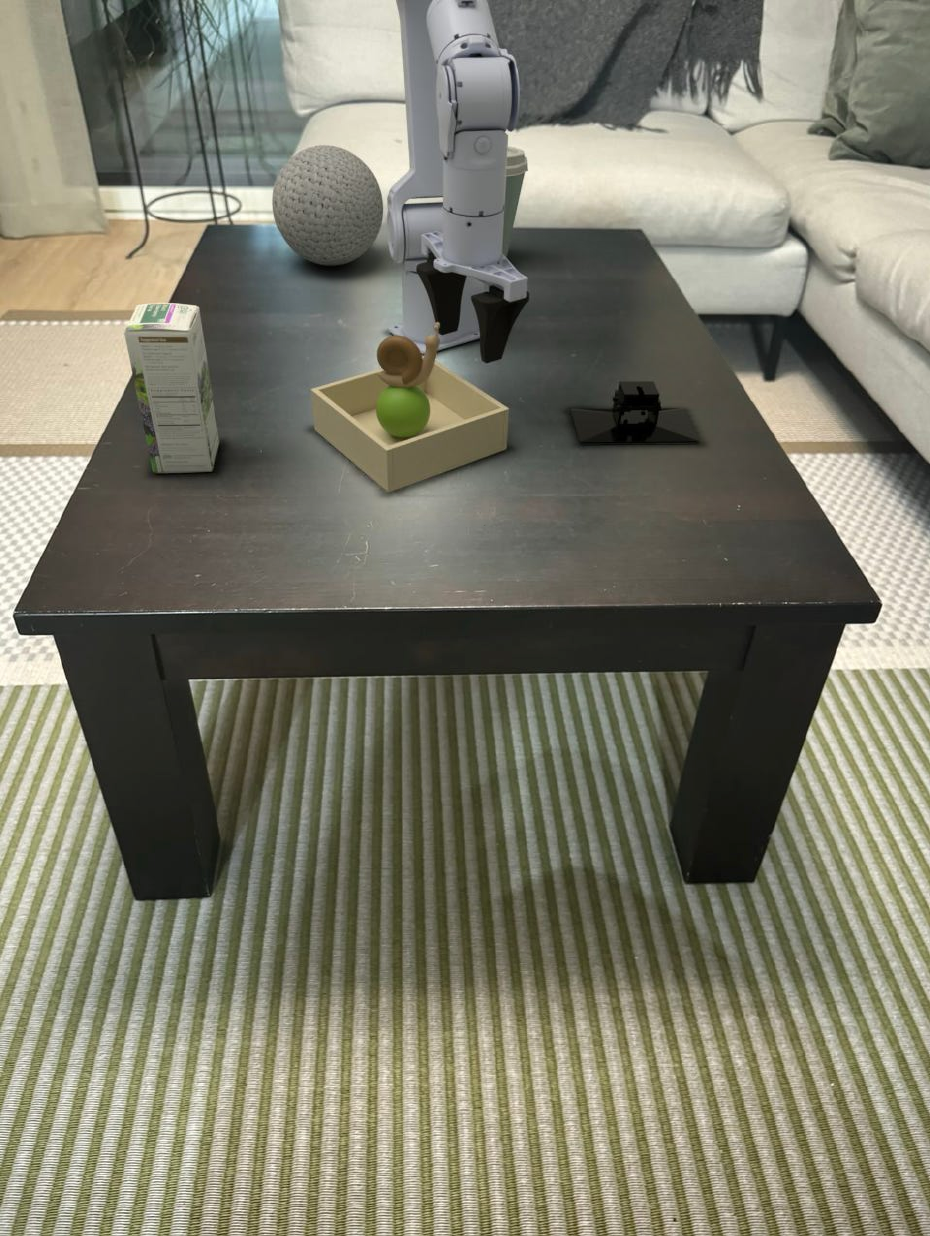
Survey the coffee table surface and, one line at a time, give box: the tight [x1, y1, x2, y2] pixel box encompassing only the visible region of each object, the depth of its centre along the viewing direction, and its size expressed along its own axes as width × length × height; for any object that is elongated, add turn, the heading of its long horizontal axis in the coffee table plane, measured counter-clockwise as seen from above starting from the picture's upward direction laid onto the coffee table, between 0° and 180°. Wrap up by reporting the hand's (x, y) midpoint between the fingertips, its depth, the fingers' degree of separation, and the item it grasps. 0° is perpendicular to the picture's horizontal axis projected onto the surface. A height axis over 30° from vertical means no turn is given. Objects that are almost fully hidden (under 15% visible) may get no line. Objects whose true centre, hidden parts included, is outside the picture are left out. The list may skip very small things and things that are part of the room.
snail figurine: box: [376, 322, 440, 438], centre depth 89 cm, size 5×6×12 cm
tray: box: [310, 355, 510, 493], centre depth 92 cm, size 14×14×5 cm
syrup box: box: [123, 302, 220, 474], centre depth 85 cm, size 6×6×14 cm
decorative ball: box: [271, 144, 384, 267], centre depth 125 cm, size 15×15×15 cm
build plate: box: [569, 380, 700, 446], centre depth 95 cm, size 12×7×5 cm, turn 93°
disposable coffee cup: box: [502, 145, 529, 258], centre depth 127 cm, size 11×11×15 cm
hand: (469, 345), depth 94 cm, fingers open, 7 cm apart
